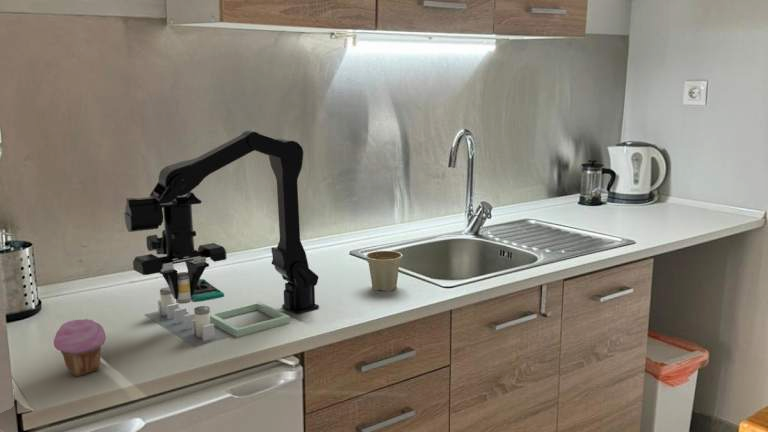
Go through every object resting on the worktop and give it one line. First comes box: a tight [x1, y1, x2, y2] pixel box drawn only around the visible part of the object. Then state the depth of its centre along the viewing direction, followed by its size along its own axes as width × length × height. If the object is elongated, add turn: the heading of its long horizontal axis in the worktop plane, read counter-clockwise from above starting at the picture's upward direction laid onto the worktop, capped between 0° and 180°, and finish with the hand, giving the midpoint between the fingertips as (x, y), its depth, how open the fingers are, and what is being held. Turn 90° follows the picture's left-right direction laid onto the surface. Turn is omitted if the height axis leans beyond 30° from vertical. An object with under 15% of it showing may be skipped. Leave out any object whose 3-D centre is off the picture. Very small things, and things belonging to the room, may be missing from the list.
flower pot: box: [365, 250, 403, 292], centre depth 185 cm, size 9×9×9 cm
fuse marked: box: [175, 271, 192, 305], centre depth 155 cm, size 3×3×6 cm
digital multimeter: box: [191, 278, 225, 302], centre depth 180 cm, size 7×15×3 cm, turn 33°
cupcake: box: [53, 318, 107, 377], centre depth 136 cm, size 9×9×10 cm
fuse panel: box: [144, 299, 231, 347], centre depth 157 cm, size 8×25×4 cm, turn 40°
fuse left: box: [159, 286, 176, 317], centre depth 162 cm, size 3×3×6 cm
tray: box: [210, 301, 291, 338], centre depth 159 cm, size 13×13×3 cm
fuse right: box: [193, 305, 211, 339], centre depth 150 cm, size 3×3×6 cm
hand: (183, 297), depth 155 cm, fingers closed on fuse marked, 3 cm apart
